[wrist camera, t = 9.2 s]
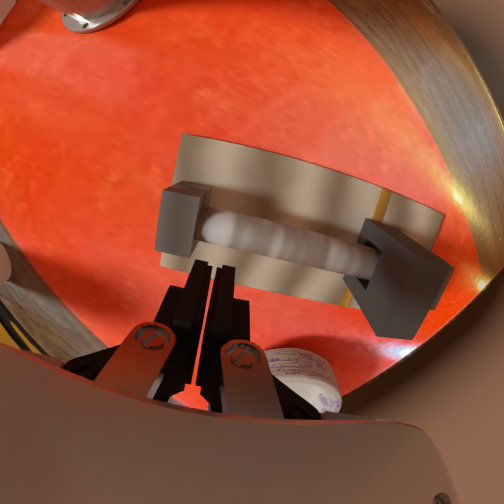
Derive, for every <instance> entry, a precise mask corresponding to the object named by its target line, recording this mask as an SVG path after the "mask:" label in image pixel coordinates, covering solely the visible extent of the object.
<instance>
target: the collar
mask: <svg viewBox="0 0 504 504" xmlns="http://www.w3.org/2000/svg"><path fill="white" fill-rule="evenodd" d="M357 244H361V245H364V246H368V247H371V248H375V249H379V250H381V251H382V253H381V255H380V258H379V260H378V263H377V265H376V268H375V270H374V273H373V275H372V277H371V280H370V281H369V280H366V279H362V278H357V277H353V276H349V275H344V277H343V280H344V282H345V284H346V285H347V287H348V288H349V290H350V292H351V293H352V295H353V297H354V298H355V300H356V302H357V303H358V305H359V307H360V308H361V310H362V312H363V314H364V315H365V317H366V319H367V320H368V322H369V324H370V326H371V327H372V329H373V331H374V333H375V335H376V336H379V337H388V338H397V339H407V340H412V339H413V338H414V336H415V334H416V333H417V331H418V329H419V328H420V326H421V324H422V322H423V321H424V319H425V317H426V315H427V313H428V311H429V310H430V308H431V306H432V304H433V302H434V300H435V298H436V296H437V294H438V292H439V290H440V288H441V286H442V284H443V282H444V279H445V277H446V275H447V273H448V270H449V268H450V266H449V265H448V264H446V263H445V262H444V261H442V260H441V259H440V258H438V257H437V256H436V255H434V254H433V253H431V252H430V251H429V250H427V249H426V248H424V247H423V246H422V245H420V244H419V243H417V242H416V241H414V240H413V239H411V238H410V237H408V236H407V235H405V234H404V233H402V232H401V231H399V230H398V229H396V228H394V227H391V226H388V225H385V224H382V223H379V222H376V221H373V220H370V219H367V218H365V220H364V223H363V226H362V229H361V232H360V235H359V238H358V240H357Z"/></svg>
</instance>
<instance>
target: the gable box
mask: <svg viewBox="0 0 504 504" xmlns="http://www.w3.org/2000/svg"><path fill="white" fill-rule="evenodd" d="M16 2H17V0H0V26H1V24H2V23H3V21H4V19H5V18H6V16H7V15H8V14H9V12H10V11H11V9H12V8H13V6H14V5H15V4H16Z"/></svg>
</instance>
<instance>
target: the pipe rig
mask: <svg viewBox="0 0 504 504" xmlns="http://www.w3.org/2000/svg"><path fill="white" fill-rule="evenodd" d="M443 217H444V214H442V213H440V212H437V211H435V210H433V209H431V208H429V207H427V206H424V205H422V204H420V203H418V202H415V201H413V200H411V199H408V198H406V197H403V196H401V195H399V194H396V193H394V192H391V191H389V190H386V189H384V188H381V187H379V186H376V185H373V184H371V183H368V182H365V181H362V180H360V179H357V178H354V177H351V176H348V175H345V174H342V173H339V172H336V171H333V170H330V169H327V168H324V167H321V166H318V165H314V164H311V163H308V162H304V161H301V160H298V159H294V158H291V157H287V156H283V155H280V154H276V153H272V152H268V151H264V150H260V149H256V148H252V147H247V146H243V145H239V144H234V143H229V142H225V141H220V140H215V139H210V138H204V137H199V136H193V135H187V134H182V137H181V142H180V146H179V151H178V155H177V160H176V165H175V170H174V176H173V181H172V186H170V187H168V188H166V189H164V190H163V192H162V198H161V204H160V211H159V218H158V225H157V233H156V241H155V250H156V251H160V252H162V254H161V263H160V266H162V267H166V268H170V269H174V270H178V271H182V272H186V273H190V272H191V269H192V266H193V264H194V261H195V259H198V260H203V261H207V262H208V265H210V266H213V268H212V274H211V279H215V274H216V269H217V267H220V268H222V266H223V265H227V266H232V267H236V271H235V284H238V285H242V286H247V287H251V288H256V289H260V290H265V291H270V292H274V293H279V294H284V295H289V296H294V297H299V298H304V299H309V300H314V301H319V302H324V303H329V304H335V305H338V306H343V307H351V308H357V309H361V308H360V307H359V305H358V303H357V302H356V300H355V298H354V297H353V295H352V293H351V292H350V290H349V288H348V287H347V285H346V284H345V282H344V280H343V277H344V275H349V276H353V277H357V278H362V279H366V280H369V281H370V280H371V277H372V275H373V273H374V270H375V268H376V265H377V263H378V260H379V258H380V255H381V253H382V251H381V250H379V249H375V248H371V247H368V246H364V245H361V244H357V240H358V238H359V235H360V232H361V229H362V226H363V223H364V220H365V218H367V219H370V220H373V221H376V222H379V223H382V224H385V225H388V226H391V227H394V228H396V229H398V230H399V231H401V232H402V233H404V234H405V235H407V236H408V237H410V238H411V239H413V240H414V241H416V242H417V243H419V244H420V245H422V246H423V247H424V248H426V249H427V250H429V251H430V252H431V253H433V252H432V251H431V249H432V247H433V244H434V242H435V239H436V236H437V234H438V231H439V228H440V225H441V223H442V220H443ZM433 254H434V255H436V254H435V253H433ZM436 256H437V255H436ZM437 257H438V258H440V257H439V256H437ZM440 259H441V260H442V261H444V260H443V259H442V258H440ZM444 262H445V263H446V264H448V263H447V262H446V261H444ZM448 265H449V266H450V268H449V270H448V273H447V275H446V277H445V279H444V282H443V284H442V286H441V288H440V290H439V292H438V294H437V296H436V298H435V300H434V302H433V304H432V306H431V308H430V310H435V308H436V306H437V304H438V302H439V300H440V298H441V296H442V294H443V292H444V290H445V288H446V286H447V284H448V282H449V280H450V278H451V275H452V273H453V271H454V269H455V268H454V267H452V266H451V265H450V264H448Z"/></svg>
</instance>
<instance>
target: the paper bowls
mask: <svg viewBox="0 0 504 504" xmlns="http://www.w3.org/2000/svg"><path fill="white" fill-rule="evenodd" d="M264 352H265V354H266V357H267V360H268V364H269V367H270V371H271V374H273V375H274V376H275V377H276V378H278V379H279V380H280V381H281V382H283V383H284V384H285V385H287V386H288V387H289V388H290V389H292V390H293V391H294V392H296V393H297V394H298V395H300V396H301V397H302V398H304V399H305V400H306V401H308V402H309V403H310V404H312V405H313V406H314V407H315V408H316V409H317V410H318V411H319V412H320V413H324V412H325V411H330V412H336V413H338V412H339V410H340V408H341V404H342V394H341V392H340V389H339V385H338V382H337V379H336V376H335V373H334V370H333V368H332V366H331V365H330V364H329V362H328V361H327V360H325V359H324V358H323V357H321V356H320V355H318V354H315V353H313V352H310V351H308V350H303V349H298V348H276V349H269V350H264Z"/></svg>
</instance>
